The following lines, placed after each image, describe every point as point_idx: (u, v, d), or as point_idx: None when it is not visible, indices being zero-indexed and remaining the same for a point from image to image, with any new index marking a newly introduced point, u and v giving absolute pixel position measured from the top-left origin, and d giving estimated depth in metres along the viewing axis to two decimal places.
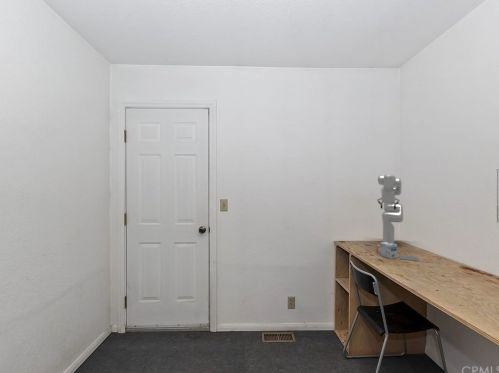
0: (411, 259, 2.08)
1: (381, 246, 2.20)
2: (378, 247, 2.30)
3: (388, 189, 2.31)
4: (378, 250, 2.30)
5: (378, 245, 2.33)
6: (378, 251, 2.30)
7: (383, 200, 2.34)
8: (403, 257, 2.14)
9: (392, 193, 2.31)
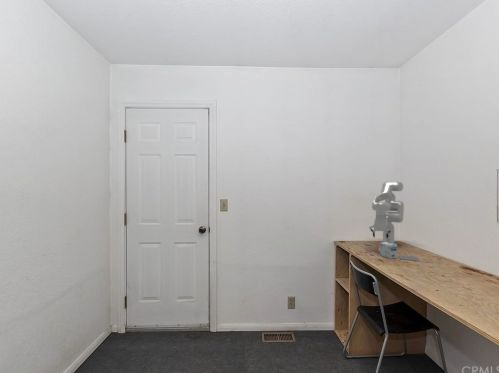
0: (411, 259, 2.08)
1: (381, 246, 2.20)
2: (378, 247, 2.30)
3: (380, 217, 2.28)
4: (378, 250, 2.30)
5: (378, 245, 2.33)
6: (378, 251, 2.30)
7: (375, 228, 2.31)
8: (403, 257, 2.14)
9: (384, 221, 2.28)
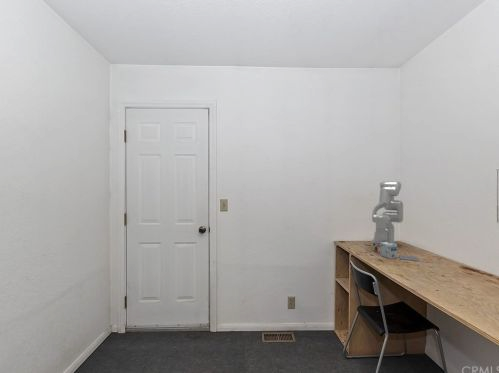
0: (411, 259, 2.08)
1: (381, 246, 2.20)
2: (378, 247, 2.30)
3: (380, 231, 2.28)
4: (378, 250, 2.30)
5: (378, 245, 2.33)
6: (378, 251, 2.30)
7: (375, 241, 2.31)
8: (403, 257, 2.14)
9: (384, 235, 2.28)
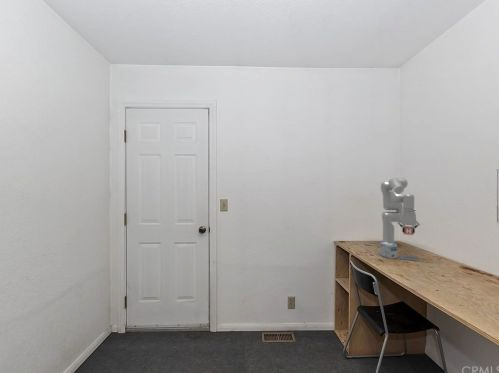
0: (411, 259, 2.08)
1: (381, 246, 2.20)
2: (406, 228, 2.11)
3: (409, 210, 2.09)
4: (406, 231, 2.11)
5: (406, 226, 2.14)
6: (406, 232, 2.11)
7: (403, 222, 2.12)
8: (403, 257, 2.14)
9: (413, 214, 2.09)
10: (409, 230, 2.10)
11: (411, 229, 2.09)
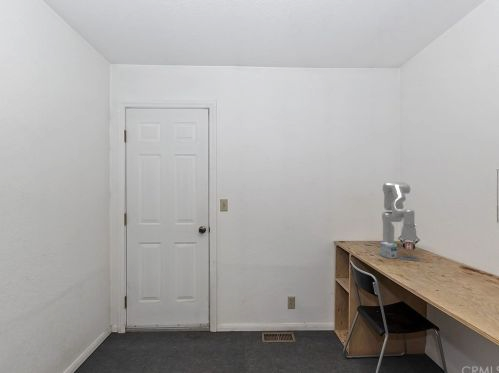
0: (411, 259, 2.08)
1: (381, 246, 2.20)
2: (406, 244, 2.11)
3: (409, 226, 2.09)
4: (406, 247, 2.11)
5: (406, 242, 2.14)
6: (406, 248, 2.11)
7: (403, 237, 2.12)
8: (403, 257, 2.14)
9: (413, 230, 2.09)
10: (409, 246, 2.10)
11: (411, 245, 2.09)
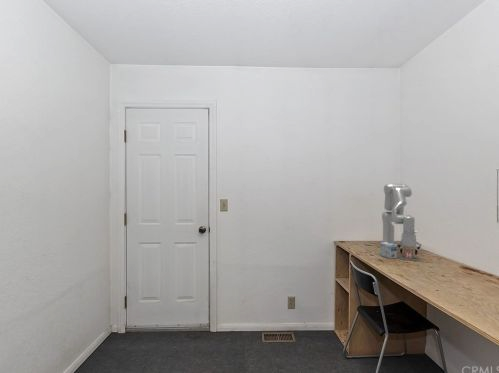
0: (411, 259, 2.08)
1: (381, 246, 2.20)
2: (406, 252, 2.11)
3: (409, 232, 2.09)
4: (406, 255, 2.11)
5: (406, 250, 2.14)
6: (406, 256, 2.11)
7: (403, 244, 2.12)
8: (403, 257, 2.14)
9: (413, 237, 2.09)
10: (409, 254, 2.10)
11: (411, 253, 2.09)
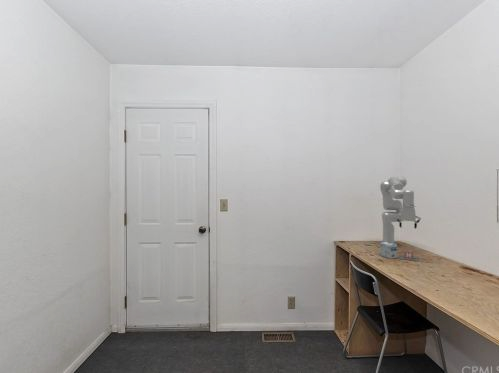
0: (411, 259, 2.08)
1: (381, 246, 2.20)
2: (406, 252, 2.11)
3: (408, 206, 2.10)
4: (406, 255, 2.11)
5: (406, 250, 2.14)
6: (406, 256, 2.11)
7: (402, 218, 2.13)
8: (403, 257, 2.14)
9: (413, 210, 2.10)
10: (409, 254, 2.10)
11: (411, 253, 2.09)
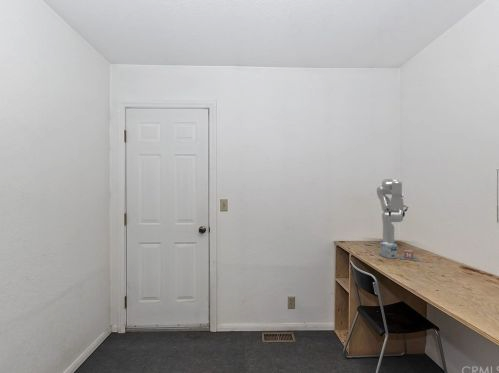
0: (411, 259, 2.08)
1: (381, 246, 2.20)
2: (406, 252, 2.11)
3: (397, 196, 2.27)
4: (406, 255, 2.11)
5: (406, 250, 2.14)
6: (406, 256, 2.11)
7: (391, 207, 2.30)
8: (403, 257, 2.14)
9: (401, 200, 2.27)
10: (409, 254, 2.10)
11: (411, 253, 2.09)
